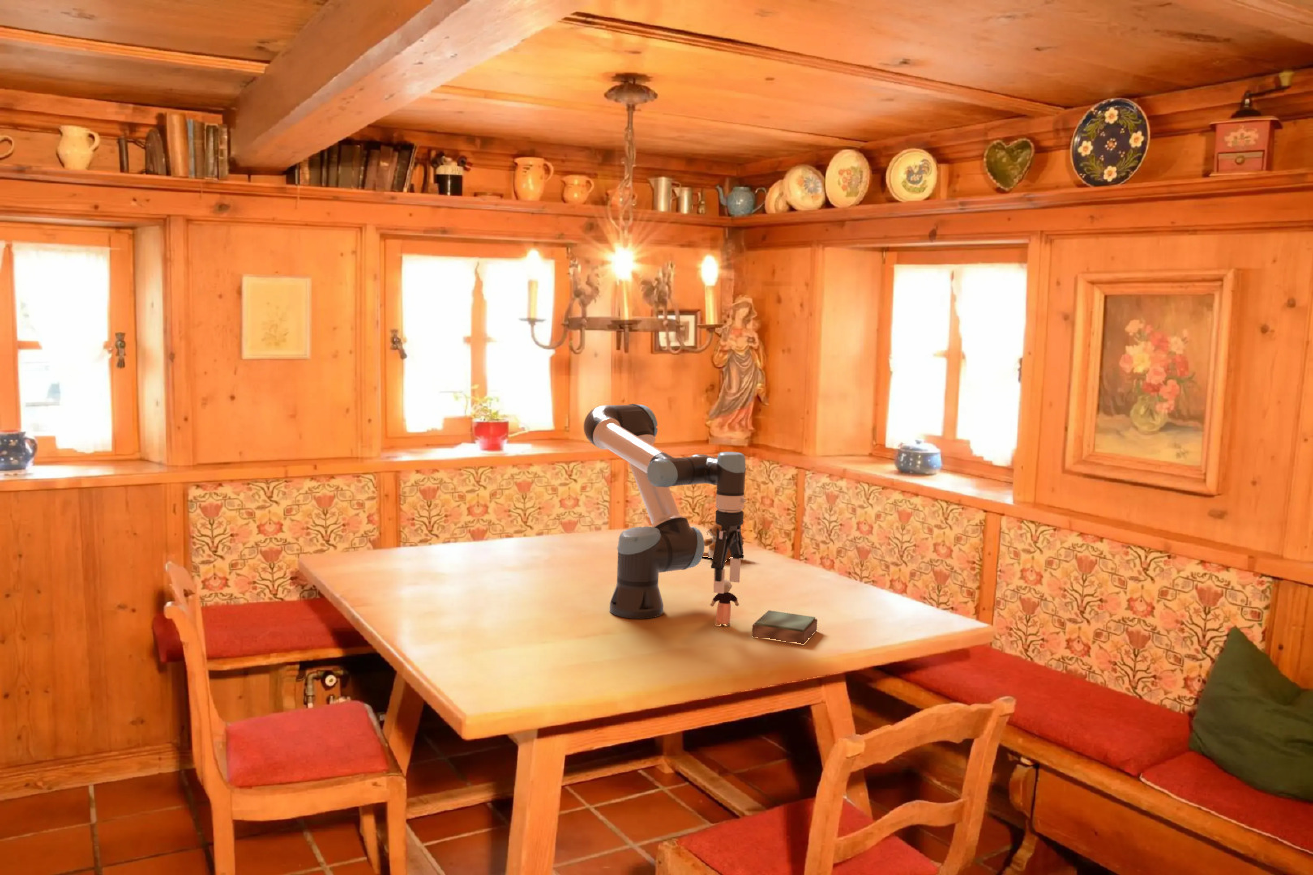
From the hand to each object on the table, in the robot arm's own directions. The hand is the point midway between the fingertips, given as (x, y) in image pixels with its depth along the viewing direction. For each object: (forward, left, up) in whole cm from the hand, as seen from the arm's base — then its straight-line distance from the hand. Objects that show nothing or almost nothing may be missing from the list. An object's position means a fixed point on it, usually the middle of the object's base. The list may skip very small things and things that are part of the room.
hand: (726, 587), depth 284 cm
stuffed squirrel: (-26, +74, -11) cm, 79 cm away
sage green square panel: (+17, 0, -11) cm, 20 cm away
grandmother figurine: (0, 0, -11) cm, 11 cm away
